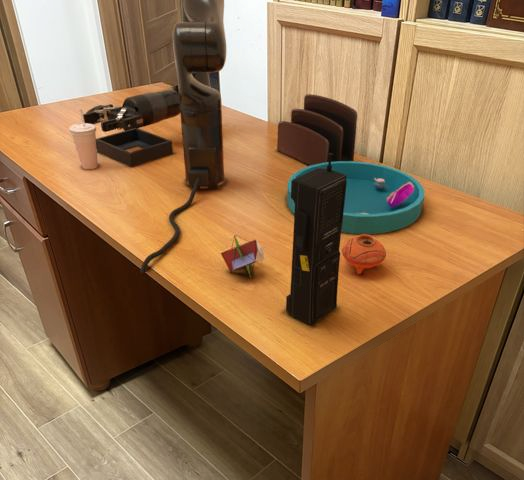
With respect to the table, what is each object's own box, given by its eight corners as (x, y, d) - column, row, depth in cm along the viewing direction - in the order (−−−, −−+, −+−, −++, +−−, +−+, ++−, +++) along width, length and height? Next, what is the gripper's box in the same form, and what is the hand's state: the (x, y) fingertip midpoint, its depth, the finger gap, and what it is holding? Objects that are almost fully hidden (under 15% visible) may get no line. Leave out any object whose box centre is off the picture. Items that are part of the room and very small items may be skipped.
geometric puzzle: (213, 272, 93) (240, 238, 89) (212, 252, 98) (238, 219, 94) (246, 291, 96) (274, 259, 92) (244, 271, 101) (269, 240, 97)
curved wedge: (74, 122, 163) (72, 116, 162) (100, 110, 172) (99, 104, 171) (96, 125, 160) (95, 119, 159) (122, 113, 170) (121, 107, 169)
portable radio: (309, 330, 84) (322, 176, 68) (280, 315, 87) (286, 164, 71) (338, 309, 88) (357, 159, 72) (309, 295, 91) (321, 149, 75)
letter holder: (304, 143, 150) (307, 89, 141) (353, 164, 138) (360, 107, 129) (276, 150, 145) (277, 95, 136) (325, 173, 133) (330, 114, 124)
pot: (374, 252, 102) (383, 224, 97) (385, 281, 98) (395, 254, 92) (334, 253, 101) (340, 225, 96) (343, 283, 97) (350, 255, 91)
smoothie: (99, 171, 133) (88, 112, 124) (73, 171, 133) (60, 112, 124) (105, 162, 138) (95, 104, 129) (81, 161, 138) (69, 104, 129)
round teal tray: (424, 240, 107) (430, 213, 103) (277, 226, 111) (278, 199, 107) (418, 182, 129) (423, 158, 126) (296, 172, 133) (297, 148, 130)
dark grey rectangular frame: (173, 153, 143) (171, 140, 141) (131, 167, 135) (129, 153, 133) (138, 139, 151) (136, 127, 149) (96, 151, 143) (94, 139, 141)
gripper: (127, 89, 141) (73, 101, 132) (161, 99, 133) (106, 113, 124) (131, 118, 146) (79, 132, 137) (164, 130, 138) (111, 146, 129)
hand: (92, 123), depth 130 cm, fingers open, 8 cm apart
